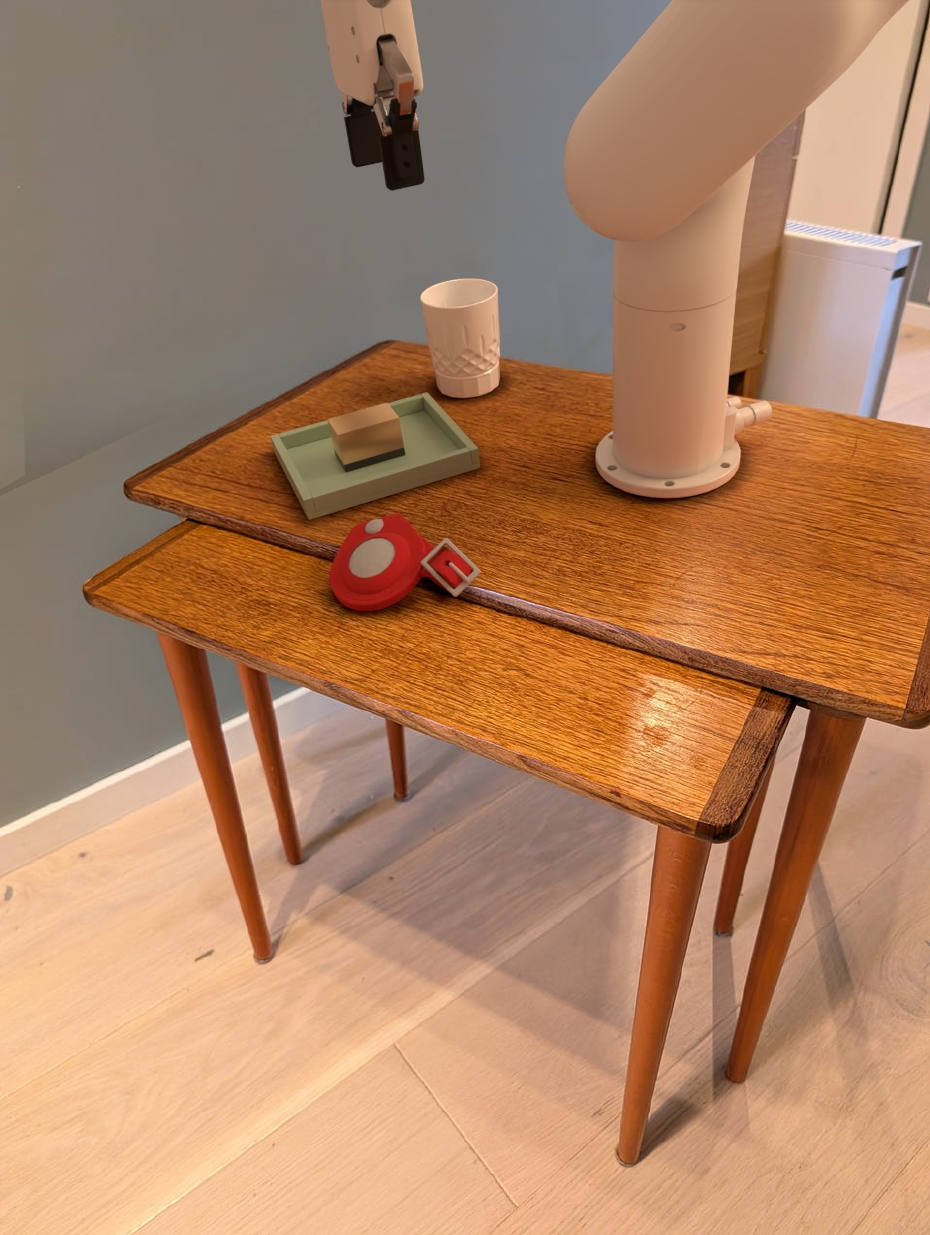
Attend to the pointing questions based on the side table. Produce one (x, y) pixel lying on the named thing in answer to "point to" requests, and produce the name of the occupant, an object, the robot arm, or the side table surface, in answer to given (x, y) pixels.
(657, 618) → the side table surface
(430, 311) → the white cup
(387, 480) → the tray
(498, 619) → the side table surface
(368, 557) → the tracker holder
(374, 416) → the eraser
